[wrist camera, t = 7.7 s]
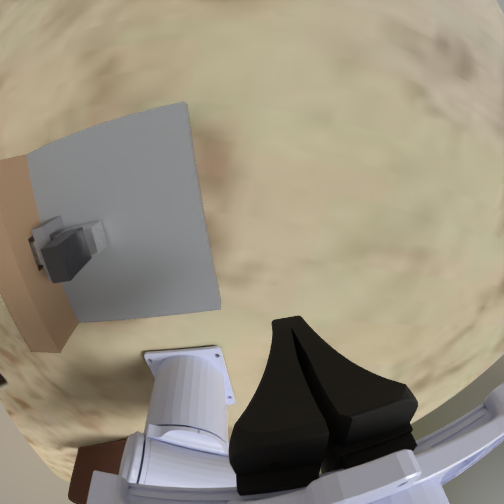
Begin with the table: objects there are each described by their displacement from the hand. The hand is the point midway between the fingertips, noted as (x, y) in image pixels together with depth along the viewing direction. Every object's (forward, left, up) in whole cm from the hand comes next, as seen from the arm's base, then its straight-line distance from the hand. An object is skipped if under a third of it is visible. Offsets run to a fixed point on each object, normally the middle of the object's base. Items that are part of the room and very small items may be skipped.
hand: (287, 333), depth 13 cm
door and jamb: (+4, +13, -10) cm, 17 cm away
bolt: (+4, +17, -9) cm, 19 cm away
